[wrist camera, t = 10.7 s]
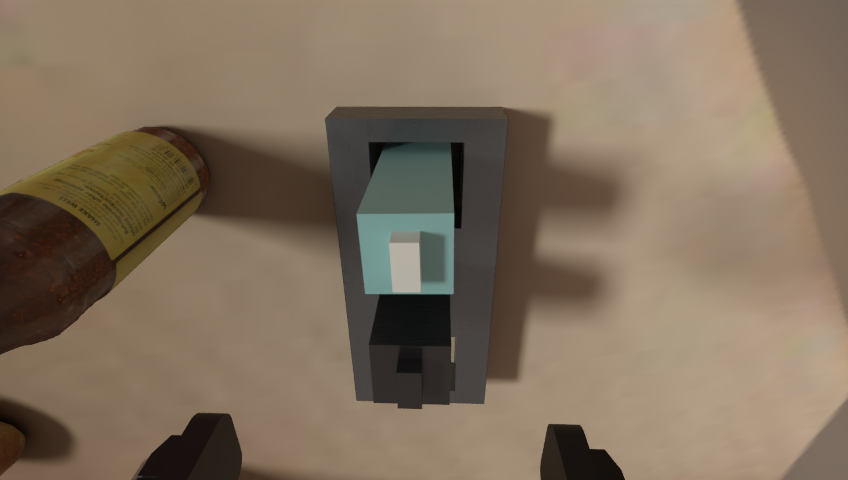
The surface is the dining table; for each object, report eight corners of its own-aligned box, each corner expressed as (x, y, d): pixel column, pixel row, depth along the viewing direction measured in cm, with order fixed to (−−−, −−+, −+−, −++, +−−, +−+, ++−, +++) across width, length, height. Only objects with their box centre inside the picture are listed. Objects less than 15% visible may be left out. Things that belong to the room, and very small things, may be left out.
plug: (450, 197, 29) (454, 307, 19) (390, 198, 30) (361, 307, 19) (450, 138, 28) (454, 224, 17) (386, 139, 28) (352, 225, 17)
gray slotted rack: (481, 375, 37) (496, 524, 27) (362, 372, 37) (331, 518, 27) (501, 107, 27) (540, 177, 16) (336, 106, 27) (267, 175, 16)
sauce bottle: (114, 113, 28) (-451, 307, 10) (214, 135, 28) (-161, 357, 11) (125, 206, 31) (-293, 478, 13) (216, 225, 31) (-74, 511, 14)
